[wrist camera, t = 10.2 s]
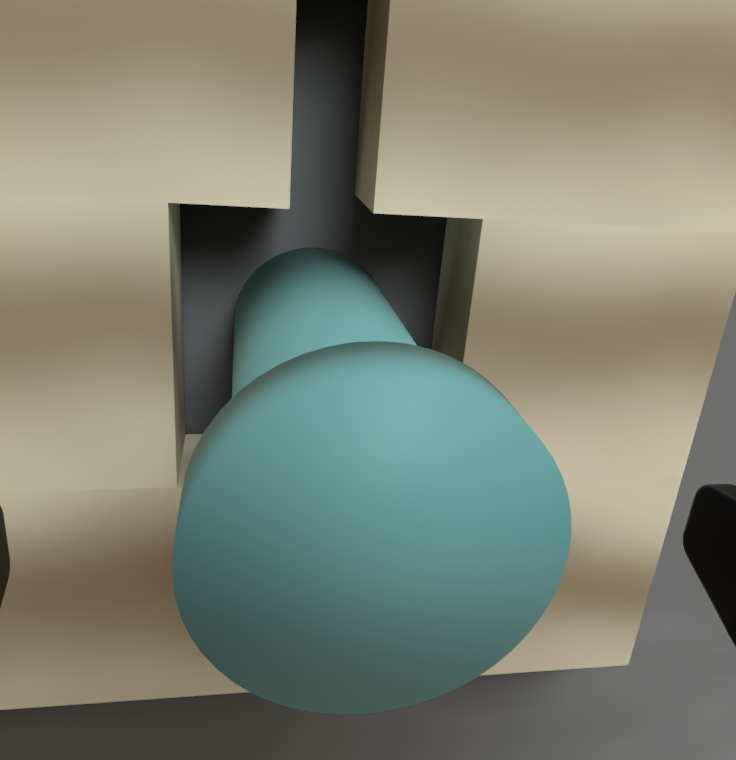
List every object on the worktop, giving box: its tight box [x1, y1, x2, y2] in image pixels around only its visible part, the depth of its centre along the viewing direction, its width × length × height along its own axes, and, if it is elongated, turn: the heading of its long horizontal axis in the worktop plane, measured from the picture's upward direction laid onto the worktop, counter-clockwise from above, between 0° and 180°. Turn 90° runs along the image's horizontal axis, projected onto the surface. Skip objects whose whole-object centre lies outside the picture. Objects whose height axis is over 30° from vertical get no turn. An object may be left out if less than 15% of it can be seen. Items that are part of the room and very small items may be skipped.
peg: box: [172, 248, 571, 715], centre depth 12 cm, size 5×5×9 cm
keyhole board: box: [0, 0, 736, 710], centre depth 15 cm, size 18×18×2 cm
